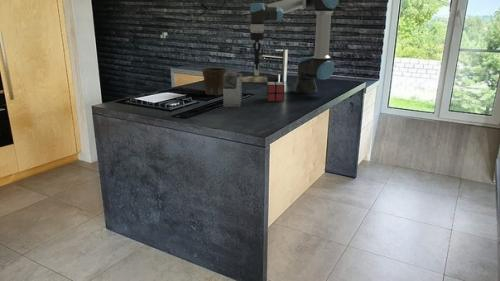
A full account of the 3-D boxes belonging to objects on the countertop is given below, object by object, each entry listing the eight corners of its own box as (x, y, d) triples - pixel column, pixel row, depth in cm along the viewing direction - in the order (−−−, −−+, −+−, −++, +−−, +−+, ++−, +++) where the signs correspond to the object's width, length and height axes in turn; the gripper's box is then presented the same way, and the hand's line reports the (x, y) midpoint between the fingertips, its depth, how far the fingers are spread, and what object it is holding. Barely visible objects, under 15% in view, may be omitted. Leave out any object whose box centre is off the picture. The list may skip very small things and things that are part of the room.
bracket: (241, 99, 239) (241, 73, 234) (240, 106, 221) (240, 78, 216) (226, 99, 239) (225, 73, 234) (223, 106, 221) (222, 78, 216)
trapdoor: (266, 81, 234) (266, 72, 232) (267, 86, 219) (267, 76, 217) (225, 81, 234) (225, 72, 232) (223, 86, 219) (223, 76, 217)
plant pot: (216, 90, 267) (216, 66, 262) (232, 94, 256) (232, 69, 251) (197, 93, 256) (196, 68, 251) (213, 97, 245) (212, 71, 240)
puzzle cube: (283, 101, 235) (284, 84, 232) (267, 101, 235) (267, 84, 232) (282, 98, 245) (283, 82, 242) (266, 98, 245) (266, 82, 242)
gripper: (250, 31, 225) (250, 72, 232) (250, 32, 210) (249, 76, 217) (263, 31, 225) (263, 73, 232) (264, 32, 210) (263, 77, 217)
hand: (256, 74), depth 225 cm, fingers open, 3 cm apart
